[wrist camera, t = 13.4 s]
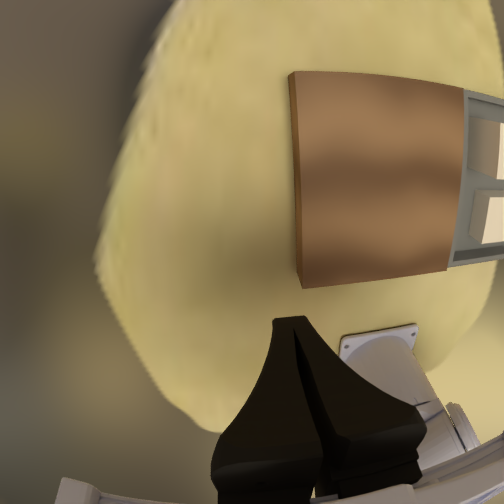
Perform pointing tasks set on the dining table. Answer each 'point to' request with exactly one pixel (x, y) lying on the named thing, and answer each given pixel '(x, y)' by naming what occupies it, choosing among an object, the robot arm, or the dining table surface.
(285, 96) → the dining table surface
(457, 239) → the tray
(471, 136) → the tile
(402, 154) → the plate
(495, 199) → the tile
